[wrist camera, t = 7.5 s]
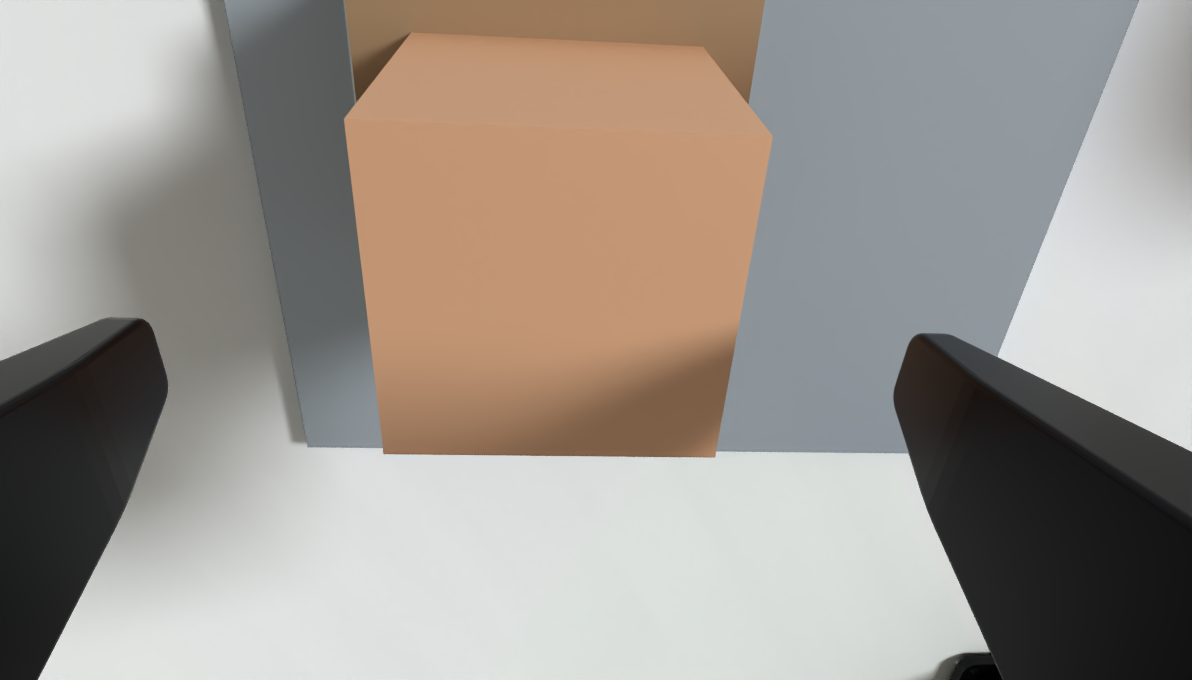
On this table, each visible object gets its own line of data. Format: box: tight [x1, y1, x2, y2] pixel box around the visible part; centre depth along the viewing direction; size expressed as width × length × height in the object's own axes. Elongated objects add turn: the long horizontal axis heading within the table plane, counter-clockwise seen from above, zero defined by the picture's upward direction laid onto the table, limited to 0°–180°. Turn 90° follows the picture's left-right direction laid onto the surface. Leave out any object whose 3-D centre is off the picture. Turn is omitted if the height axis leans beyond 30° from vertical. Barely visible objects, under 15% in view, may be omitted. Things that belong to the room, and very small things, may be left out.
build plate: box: [224, 0, 1139, 453], centre depth 19 cm, size 16×20×1 cm
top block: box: [344, 33, 773, 457], centre depth 12 cm, size 5×5×5 cm
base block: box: [345, 0, 765, 104], centre depth 16 cm, size 7×7×4 cm
